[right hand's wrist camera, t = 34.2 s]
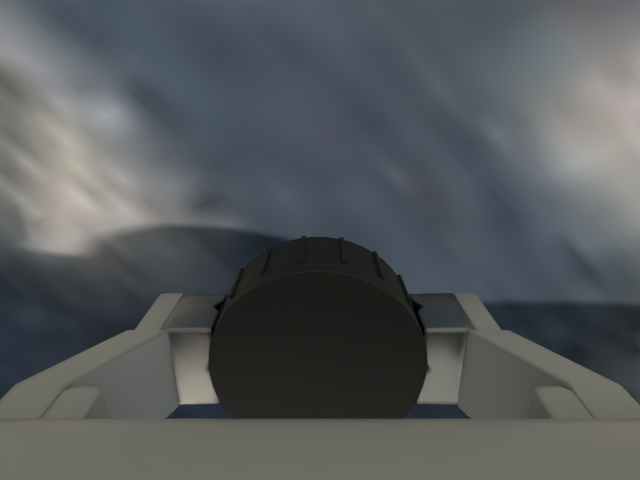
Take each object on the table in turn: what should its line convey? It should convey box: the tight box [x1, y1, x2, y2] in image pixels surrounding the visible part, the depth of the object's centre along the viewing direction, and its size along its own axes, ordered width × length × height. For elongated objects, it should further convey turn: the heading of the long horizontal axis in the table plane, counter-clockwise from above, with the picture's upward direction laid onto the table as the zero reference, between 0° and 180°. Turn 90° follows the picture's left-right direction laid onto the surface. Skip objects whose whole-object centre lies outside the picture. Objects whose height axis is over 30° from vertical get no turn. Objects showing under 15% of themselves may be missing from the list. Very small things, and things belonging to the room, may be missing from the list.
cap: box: [208, 236, 428, 419], centre depth 9 cm, size 4×4×2 cm
